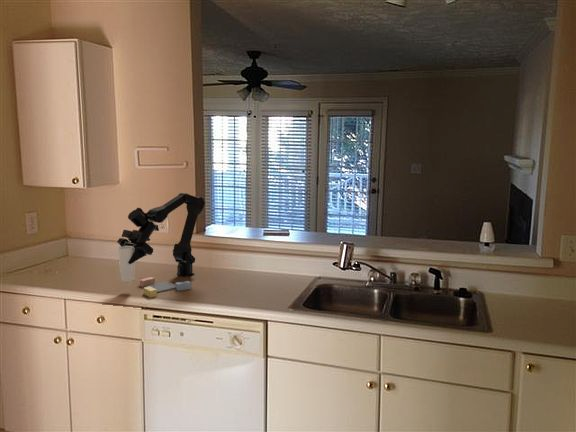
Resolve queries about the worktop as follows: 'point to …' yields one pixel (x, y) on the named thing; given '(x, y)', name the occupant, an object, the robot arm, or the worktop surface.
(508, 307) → the worktop surface
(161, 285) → the slate coaster
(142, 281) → the brick terracotta
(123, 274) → the drinking glass
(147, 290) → the brick mustard
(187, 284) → the brick slate blue
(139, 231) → the robot arm
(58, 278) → the worktop surface
